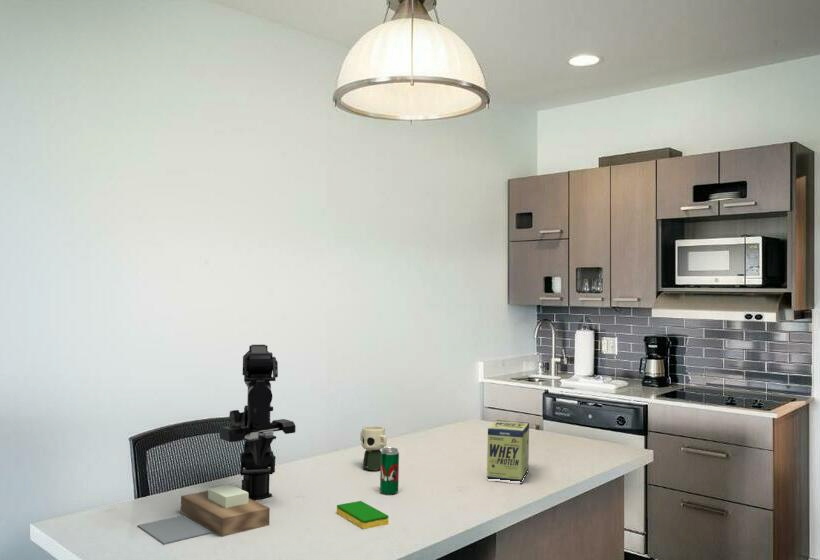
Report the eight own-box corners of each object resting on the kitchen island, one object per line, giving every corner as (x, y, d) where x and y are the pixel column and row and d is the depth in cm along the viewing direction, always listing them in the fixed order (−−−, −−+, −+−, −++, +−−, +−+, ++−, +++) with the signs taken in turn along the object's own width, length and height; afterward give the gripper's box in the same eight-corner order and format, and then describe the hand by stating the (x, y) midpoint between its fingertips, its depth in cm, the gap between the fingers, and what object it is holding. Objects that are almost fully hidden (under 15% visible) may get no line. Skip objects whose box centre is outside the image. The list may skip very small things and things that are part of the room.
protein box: (486, 481, 205) (487, 428, 205) (495, 468, 220) (496, 419, 220) (521, 485, 202) (522, 431, 202) (529, 471, 216) (529, 421, 217)
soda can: (400, 490, 194) (401, 447, 194) (395, 496, 189) (396, 451, 189) (383, 489, 195) (384, 446, 195) (377, 494, 190) (378, 450, 190)
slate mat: (183, 516, 169) (183, 515, 169) (211, 533, 158) (211, 531, 158) (137, 526, 162) (137, 524, 162) (164, 544, 151) (164, 543, 151)
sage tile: (230, 494, 174) (230, 484, 174) (248, 503, 168) (248, 492, 168) (208, 499, 170) (208, 488, 170) (225, 507, 164) (225, 497, 164)
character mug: (352, 468, 217) (352, 426, 217) (368, 464, 222) (368, 423, 223) (377, 474, 210) (378, 431, 210) (393, 470, 215) (394, 428, 215)
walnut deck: (225, 502, 180) (225, 487, 181) (269, 524, 164) (269, 507, 164) (180, 512, 172) (181, 495, 172) (222, 536, 156) (222, 518, 156)
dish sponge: (360, 509, 178) (360, 500, 178) (389, 525, 166) (389, 515, 166) (336, 514, 174) (336, 504, 174) (363, 531, 162) (363, 520, 162)
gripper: (274, 394, 187) (273, 452, 187) (209, 401, 174) (208, 463, 174) (297, 400, 179) (296, 461, 179) (231, 407, 166) (229, 473, 166)
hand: (257, 464), depth 175 cm, fingers closed
